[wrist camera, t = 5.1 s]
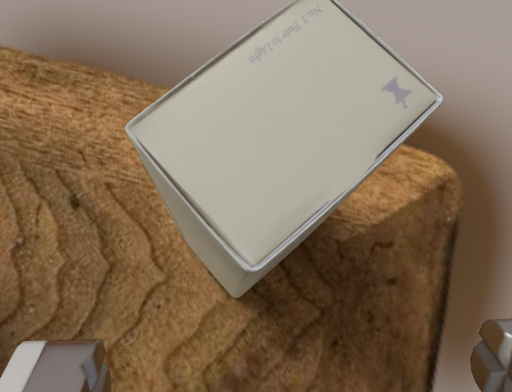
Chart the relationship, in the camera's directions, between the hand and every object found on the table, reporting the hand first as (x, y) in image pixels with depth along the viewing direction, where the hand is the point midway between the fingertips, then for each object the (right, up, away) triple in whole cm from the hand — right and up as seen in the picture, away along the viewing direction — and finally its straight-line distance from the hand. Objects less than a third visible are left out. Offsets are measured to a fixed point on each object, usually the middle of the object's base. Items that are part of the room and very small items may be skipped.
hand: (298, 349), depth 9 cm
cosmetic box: (-1, +2, +12) cm, 12 cm away
